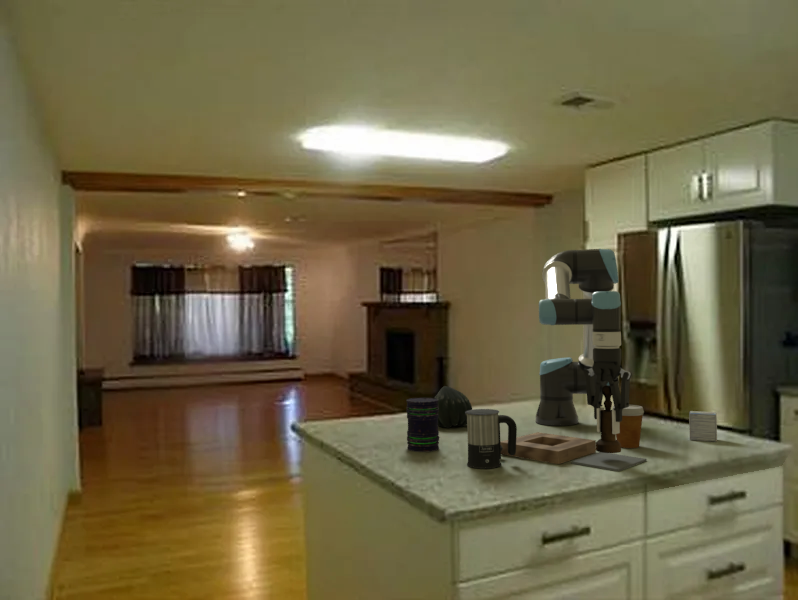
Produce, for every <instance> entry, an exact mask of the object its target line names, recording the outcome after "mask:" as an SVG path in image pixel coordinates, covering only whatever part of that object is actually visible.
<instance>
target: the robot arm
mask: <svg viewBox="0 0 798 600" xmlns="http://www.w3.org/2000/svg"><path fill="white" fill-rule="evenodd" d="M615 254H616V253H615V252H614V250H612V249H610V248H606V249H605V248H592V249H591V248H589V249H588V248H587V249H568V250H562V251H560V252H558V253H556V254H554V255H553V256H551V257H550V258H549V259H548V260H547V261H546V262H545V264H544V266H543V267H542V274H541V277H542V280H543V282H544V286H545V287H544V289H545V290H544V291H545V298H544V299H540V300H539V302H538V320H539V323H540V325H545V326H547V325H548V326H563V325H565V326H569V325H582V354H580V355H579V356H578V361H574V360H573V358H572V357H558V358H552V359H546V360H543V361H541V363H539V364H540V365H539V374H538V375H539V399H540V401H539V404H538V407H537V410H536V413H535V423H536V424H540V425H544V426H558V427H559V426H561V427H562V426H563V427H564V426H572V425H577V424H579V416H578V413H577V412H578V411H577V410H576V407H575V404H574V395H575V394H577V395H586V403H587V406H591V407H592V408H593V417H594V420H596V432H597V433H601V410H605V407H603V406H604V404H602V403H603V397H604V395H603V393H602V388H603V387H604V386H605V385H609V386H610V387H611V393H612V396H611V397H612V404H613V406H614V408H613V407H612V409H614V410H612V409H611V410H612V434H618V433H620V422H621V421H622V410H623V409H624V408H627V407H629V405H630V384H631V383H630V381H631V378H632V376H633V372H632V371H628V370H626V369H624V368H623V366H622V348H620V346H622V332H621V331H622V329H621V327H622V326H621V321H622V320H621V318H622V316H621V315H622V314H621V305H622V302H621V294H620V292H619V291H617V290H614V289H615V287H614V285H615V284H618V283H619V272H618V265H617V258H616V255H615ZM571 284H572V285H578V289H579V291H580V292H582V293H583V294H582V298H571V287H570V285H571ZM619 376H620V378H621V381H620V380H619ZM619 384H620V386H621V387H620V386H619Z"/></svg>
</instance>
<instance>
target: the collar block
mask: <svg viewBox="0 0 798 600" xmlns="http://www.w3.org/2000/svg"><path fill="white" fill-rule="evenodd" d="M596 442H597V440H595V439H588V438H582V437H576V436H575V437H574V436H566V435H561V434H554V433H553V434H551V433H547V432H540V431H537V432H534V433H533V432H532V433H528V434H526V435H522V436H516V453H515V455H510V454H509V453H508V439H505V440H500V443H501V446H502V447H503V449H502V451H501V455H504V456H510V457H515V458H520V459H521V458H522V459H525V460H527V459H528V460H531V461H537V462H543V463H550V464H555V465H560V464H563V463H567V462H571V461H573V460H576V459H579V458H582V457H585V456H589V455H592V454H595V453H597V451H596Z"/></svg>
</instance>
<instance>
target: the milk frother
mask: <svg viewBox="0 0 798 600" xmlns="http://www.w3.org/2000/svg"><path fill="white" fill-rule="evenodd" d="M465 413H466V415H467V425H466V426H467V427H466V429H467V463H466V466H468V467H470V468H474V469H483V470H484V469H486V470H487V469H494V468H498V467H500V466H502V464H501V459H502V454H501V451H502V449H503V447H502V446H501V443H500V442H501V424H506V425H507V440H508V453H509V454H510V455H515V453H516V438H517V431H518V429H517V423H516V422H515V420H514V418H512V417H510V416H509V415H505V414H499V413H500V410H498V409H491V408H477V409H472V410H468V411H466V412H465Z"/></svg>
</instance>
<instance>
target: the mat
mask: <svg viewBox="0 0 798 600" xmlns="http://www.w3.org/2000/svg"><path fill="white" fill-rule="evenodd" d="M645 462H647V458H644V457H643V458H642V457H638V456H637V457H636V456H630V455H625V454H618V453H602V452H598V451H597V452H595V453H592V454H589V455H586V456H583V457H580V458H576V459H573V460H570V464H573V465H578V466H583V467H590V468H597V469H602V470H607V471H614V472H621V471H624V470H625V469H628V468H629V469H630V468H632V467H634V466H637V465H639V464H642V463H645Z"/></svg>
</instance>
